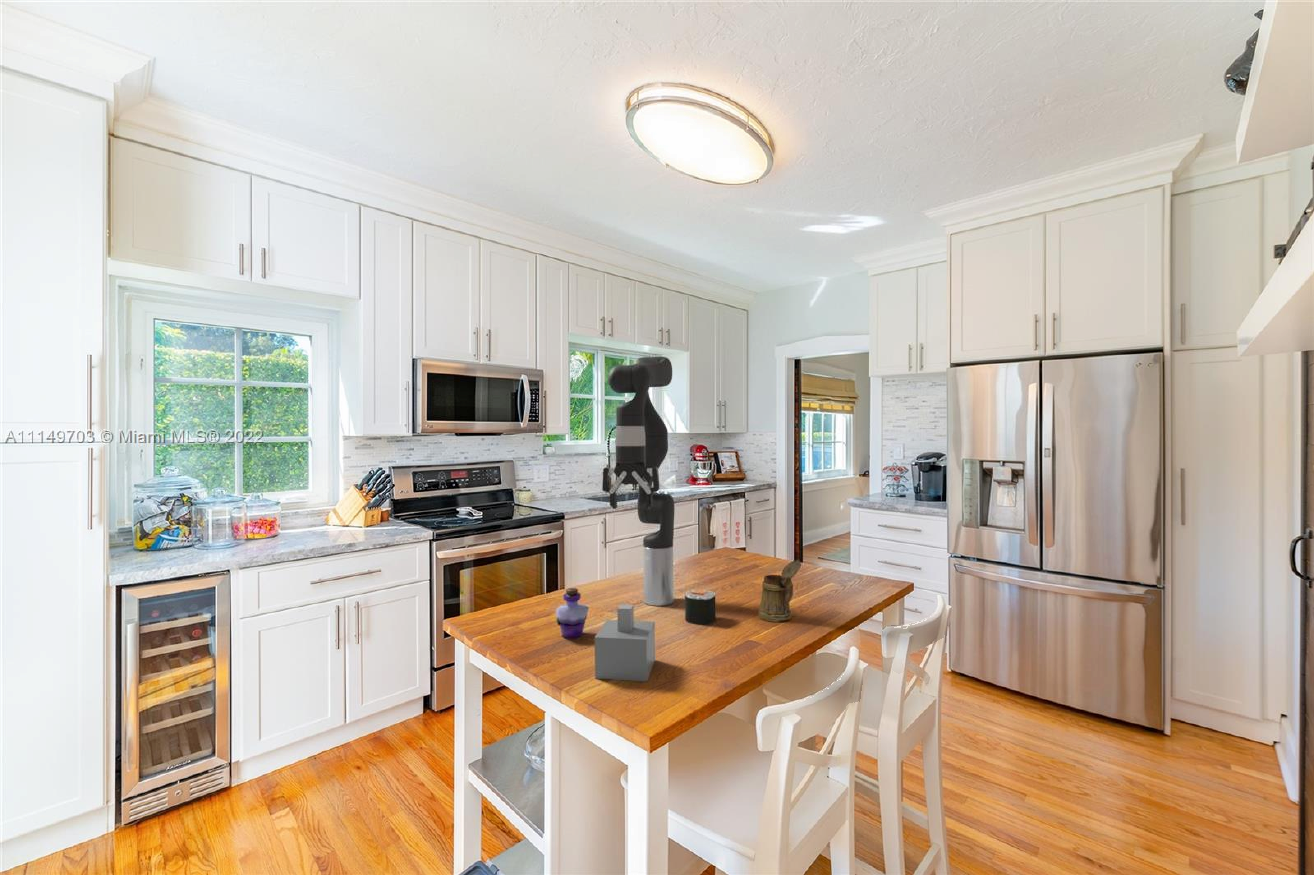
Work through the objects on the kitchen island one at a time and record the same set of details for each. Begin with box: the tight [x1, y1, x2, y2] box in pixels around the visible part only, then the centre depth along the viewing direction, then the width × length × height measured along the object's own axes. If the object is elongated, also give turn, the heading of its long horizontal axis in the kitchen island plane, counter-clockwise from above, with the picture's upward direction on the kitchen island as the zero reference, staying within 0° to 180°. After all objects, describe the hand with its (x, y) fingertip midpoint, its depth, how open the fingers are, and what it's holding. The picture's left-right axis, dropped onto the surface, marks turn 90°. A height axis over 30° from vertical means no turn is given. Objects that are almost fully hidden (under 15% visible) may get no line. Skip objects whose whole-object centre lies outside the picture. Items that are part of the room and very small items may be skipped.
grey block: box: [594, 603, 656, 682], centre depth 124 cm, size 11×11×14 cm
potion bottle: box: [555, 587, 590, 640], centre depth 145 cm, size 9×9×12 cm
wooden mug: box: [758, 558, 802, 623], centre depth 156 cm, size 9×14×18 cm, turn 31°
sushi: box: [684, 589, 717, 626], centre depth 156 cm, size 8×8×8 cm
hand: (631, 508), depth 142 cm, fingers open, 8 cm apart
